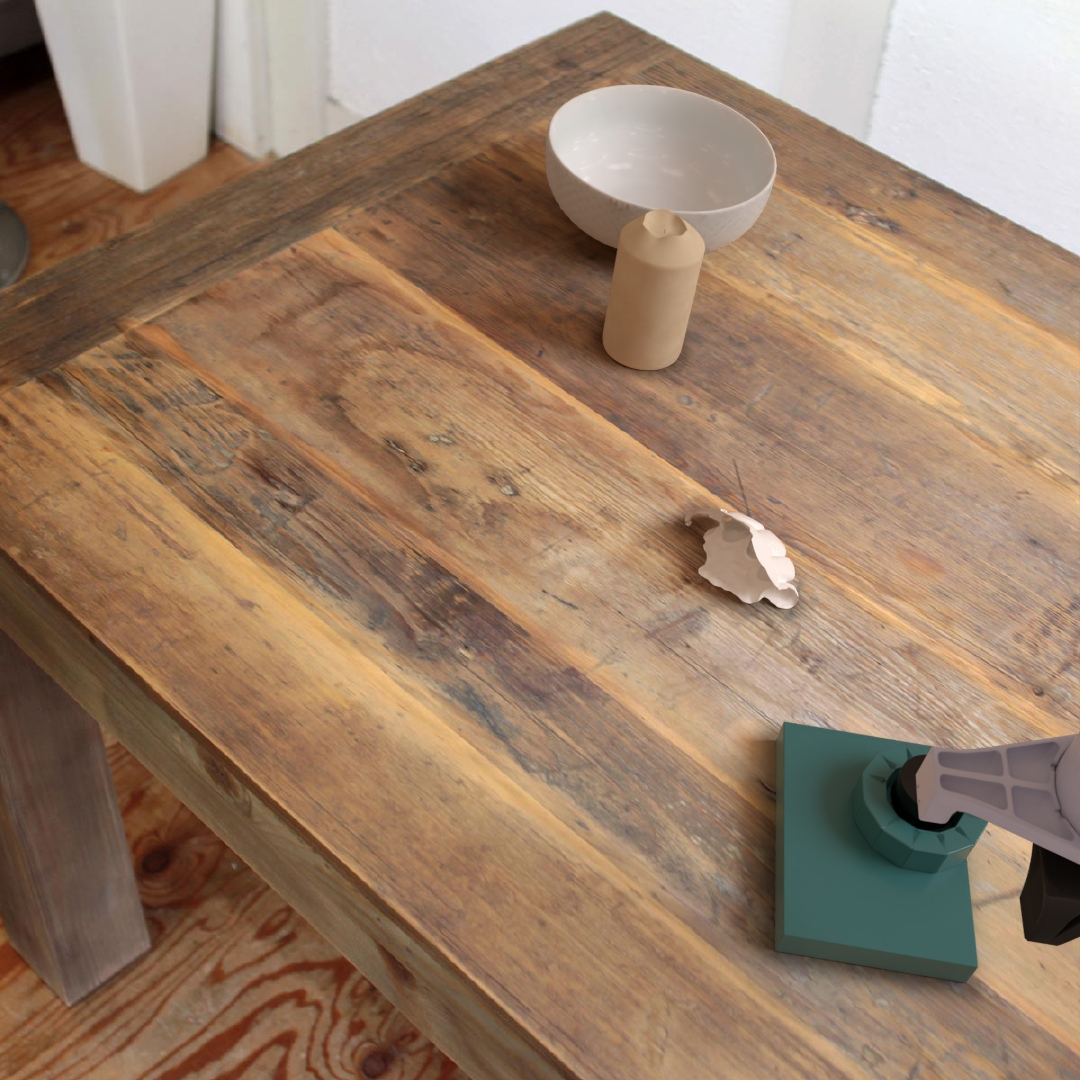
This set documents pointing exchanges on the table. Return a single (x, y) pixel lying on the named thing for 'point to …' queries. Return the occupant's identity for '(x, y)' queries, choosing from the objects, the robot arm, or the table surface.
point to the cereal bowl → (657, 162)
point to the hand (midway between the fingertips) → (1038, 920)
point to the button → (911, 795)
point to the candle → (652, 290)
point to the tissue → (746, 559)
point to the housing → (867, 860)
